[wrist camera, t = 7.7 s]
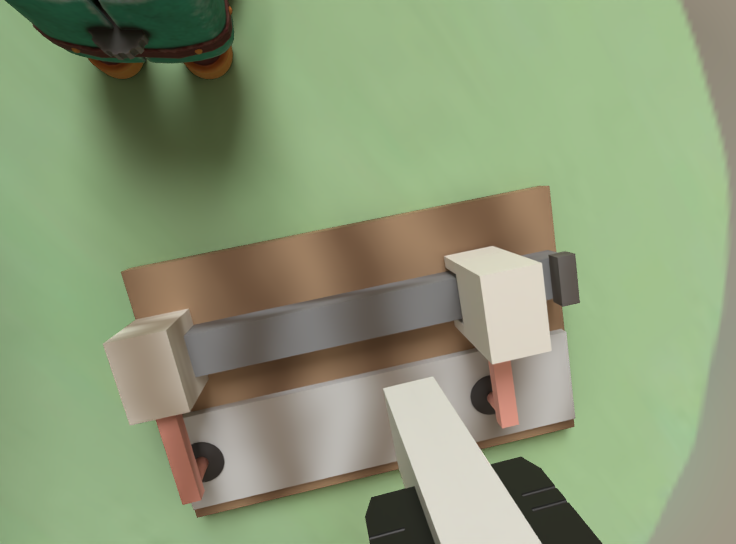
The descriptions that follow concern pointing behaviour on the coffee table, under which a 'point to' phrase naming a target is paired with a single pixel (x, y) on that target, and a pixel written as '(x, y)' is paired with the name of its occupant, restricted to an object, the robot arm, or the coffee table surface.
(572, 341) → the coffee table surface
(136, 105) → the coffee table surface
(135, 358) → the gauge
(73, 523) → the coffee table surface
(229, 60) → the binoculars
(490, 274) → the slider head
